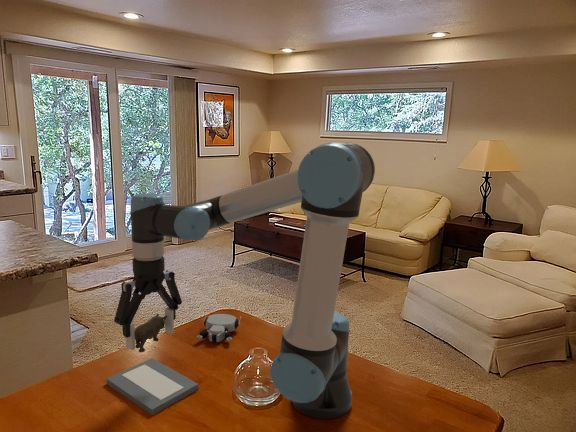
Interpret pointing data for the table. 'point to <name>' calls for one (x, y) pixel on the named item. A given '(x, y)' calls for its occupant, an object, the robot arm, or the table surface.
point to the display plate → (152, 385)
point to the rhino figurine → (149, 331)
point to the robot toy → (219, 327)
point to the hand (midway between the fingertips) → (150, 339)
